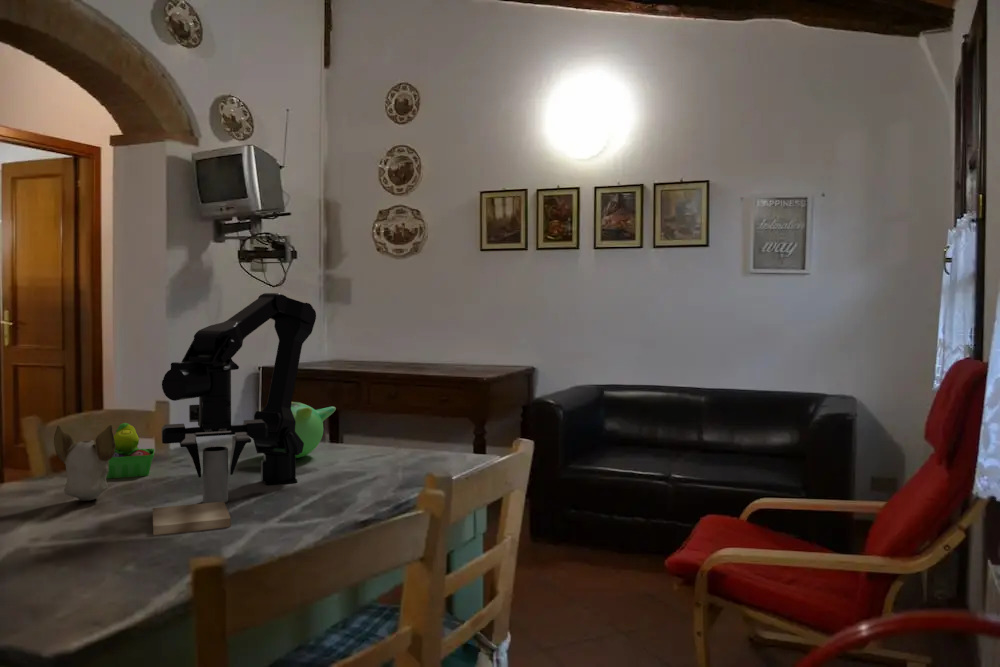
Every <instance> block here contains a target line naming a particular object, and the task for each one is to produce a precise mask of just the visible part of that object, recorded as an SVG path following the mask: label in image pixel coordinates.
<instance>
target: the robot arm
mask: <svg viewBox="0 0 1000 667" xmlns="http://www.w3.org/2000/svg"><path fill="white" fill-rule="evenodd" d="M270 320H272V321H274V330H275V332H276V336H277V337H278V345H277V349H276V350H277V351H276V354H275V360H274V366H273V371H272V376H271V381H270V382H271V383H270V387H269V393H268V397H267V403H266V405H265V407H264V408H262V410H256V411H255V413H254V415H253V419H245V420H243V424H232V371H235V370H237V371H238V370H239V369H240V366H239V365H238V364H237V363H236V362H235V361H234V360H233V359H232V358H233V357H234V356H235V355H236V354H237V353H238V352H239V351H240V350H241V348H243V343H244V340H245V339H246V337H248V336H249V335H250V334H252V333H253V332H254V331H256V330H257V329H258V328H260V327H261V326H262V325H263V324H265V323H266V322H268V321H270ZM316 320H317V312H316V310H315V308H314V307H313V305H312V304H311V303H310V302H302V301H300V300H296V299H295V298H294V299H293V298H290V297H288V296H286V295H284V294H282V293H280V292H264V293H261V294H260V295H259V296H258V297H257V299H255V300H254V301H252V302H251V303H249V304H248V305H247V306H245V307H244V308H243V309H241V310H239V311H238V312H237V313H236V314H234V315H232V316H231V317H230V318H228V319H227V320H225V321H222V322H219V323H215V324H211V325H208V326H206V327H203V328H201V329H199V330H197V332H195V333H194V335H193V339H192V342H191V344H190V345H189V347H188V349H187V351H186V353H185V355H184V357H183V358H182V360H181V361H180V362H178V361H177V362H176V361H175V362H171V363H170V369H169V370H167V372H166V373H165V374H164V376H163V379H162V380H161V389H162V391H163V394H164V395H165V397H166V398H167V399H168V400H170V401H173V402H174V401H181V400H183V401H184V400H188V399H189V400H190V399H196V398H199V399H198V404H189V407H188V409H189V410H188V417H189V423H197V426H196V427H195V426H194V427H186V425H185V423H171V424H168V423H167V424H164V425H163V426H162V427H161V442H162V444H166V445H167V444H169V445H170V444H179V447H181V448H186V449H187V451H188V453H189V455H190V457H191V459H192V462H193V465H194V467H195V471H196V473H197V477H198V478H200V479H201V478H202V467H201V459H200V453H199V446H198V442H197V438H199V437H200V438H202V437H215V436H216V437H219V436H231V435H233V436H232V438H231V440H232V441H231V453H230V461H229V475H230V476H232V475H233V474H234V472H235V469H236V467H237V464H238V462H239V458H240V456H241V454H242V452H243V450H244V448H245V446H246V444H247V443H248V444H249V443H252V440H253V443H254V446H255V450H256V453H257V454H263V459H261V460H260V479H261V480H262V482H263V483H264V484H265V485H266V486H275V485H276V486H277V485H286V484H297V483H298V479H297V475H296V474H297V472H296V471H297V470H296V467H297V466H296V464H297V462H296V459H297V458H296V455H299V453H302V451H303V446H304V443H303V441H302V440H301V439H300V437H299V436H298V435H297V433H296V432H295V424H296V421H295V419H294V416H293V413H292V411H291V403H292V402H293V397H294V392H295V386H296V381H297V375H298V370H299V364H300V359H301V355H302V347H303V344H304V342H306V341H307V339H308V337H309V336H311V335H312V332H313V330H314V327H315V323H316Z"/></svg>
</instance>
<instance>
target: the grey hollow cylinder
mask: <svg viewBox="0 0 1000 667" xmlns="http://www.w3.org/2000/svg"><path fill="white" fill-rule="evenodd" d="M223 501H224V503H225V504H226V503H227V502H228V501H229V447H227V446H220V445H217V446H208V447H204V448H203V449H202V503H213V502H223Z"/></svg>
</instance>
